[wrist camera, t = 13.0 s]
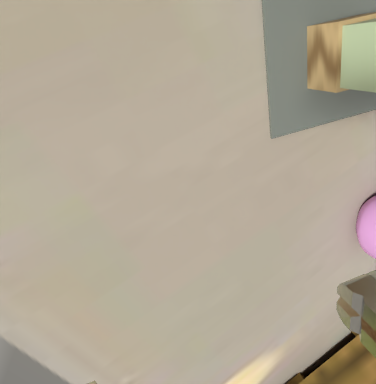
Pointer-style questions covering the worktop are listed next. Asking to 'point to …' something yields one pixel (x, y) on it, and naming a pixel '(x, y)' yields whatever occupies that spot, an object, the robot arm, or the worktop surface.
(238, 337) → the worktop surface
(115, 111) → the worktop surface
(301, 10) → the slate mat
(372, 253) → the teapot
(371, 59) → the sage top block
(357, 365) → the wooden nightstand
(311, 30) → the oak base block
